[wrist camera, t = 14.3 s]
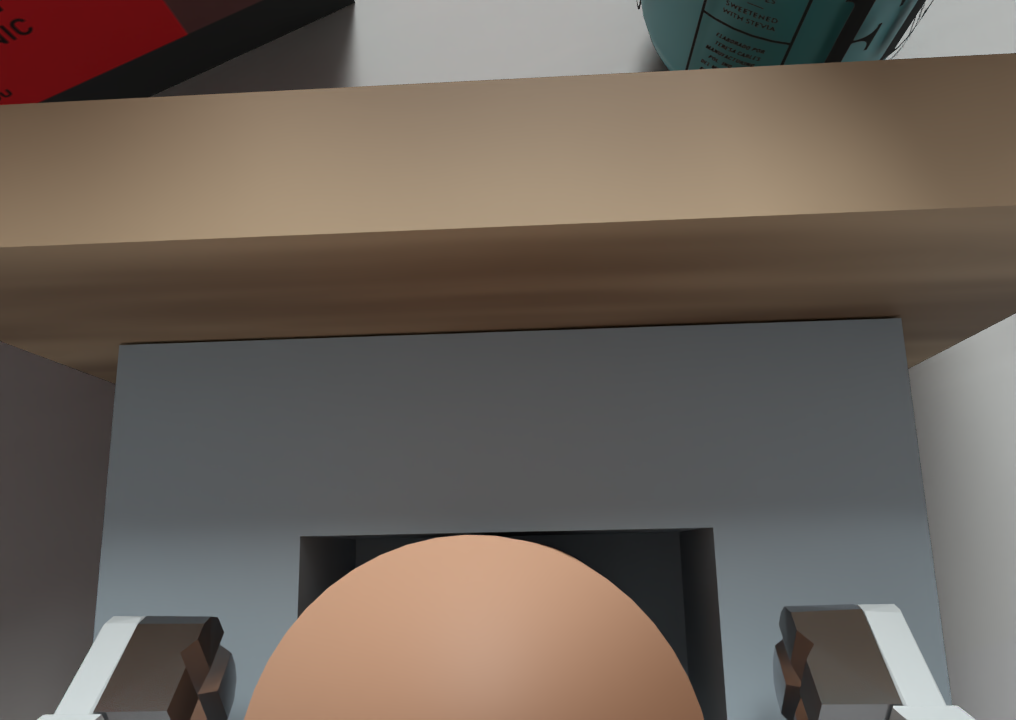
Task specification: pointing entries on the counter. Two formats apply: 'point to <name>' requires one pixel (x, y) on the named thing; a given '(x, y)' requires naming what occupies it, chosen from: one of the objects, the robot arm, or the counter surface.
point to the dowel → (473, 643)
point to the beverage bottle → (775, 31)
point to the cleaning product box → (132, 43)
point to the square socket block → (530, 478)
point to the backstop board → (515, 207)
